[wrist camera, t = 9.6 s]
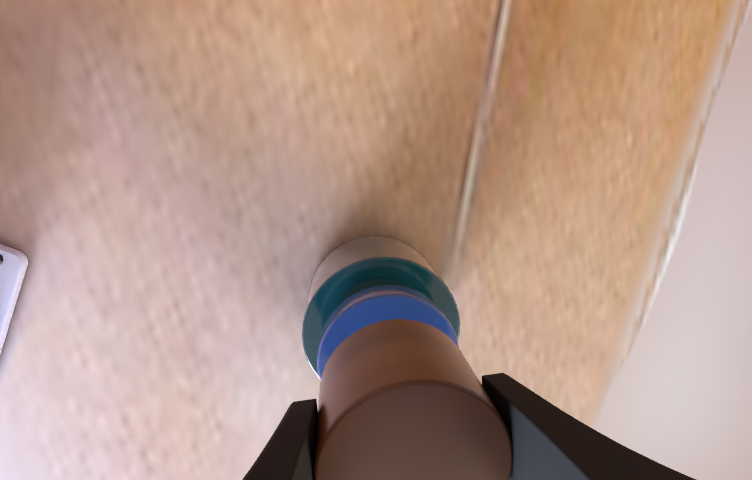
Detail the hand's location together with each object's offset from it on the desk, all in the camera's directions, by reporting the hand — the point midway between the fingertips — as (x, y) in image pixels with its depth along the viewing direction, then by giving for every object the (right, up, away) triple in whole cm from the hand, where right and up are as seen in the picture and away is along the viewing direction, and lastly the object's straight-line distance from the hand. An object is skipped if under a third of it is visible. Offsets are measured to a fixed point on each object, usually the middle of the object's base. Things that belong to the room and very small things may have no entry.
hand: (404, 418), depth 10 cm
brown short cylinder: (0, 0, +1) cm, 1 cm away
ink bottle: (-1, +2, +9) cm, 9 cm away
